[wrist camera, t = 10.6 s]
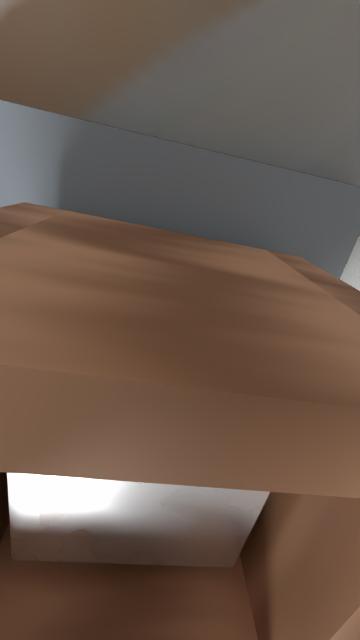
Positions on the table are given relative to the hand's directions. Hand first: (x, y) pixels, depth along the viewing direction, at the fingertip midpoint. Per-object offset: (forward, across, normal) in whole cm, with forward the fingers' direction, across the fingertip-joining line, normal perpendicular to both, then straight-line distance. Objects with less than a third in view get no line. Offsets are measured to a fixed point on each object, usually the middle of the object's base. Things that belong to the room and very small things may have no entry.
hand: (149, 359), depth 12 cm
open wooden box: (+1, 0, 0) cm, 1 cm away
